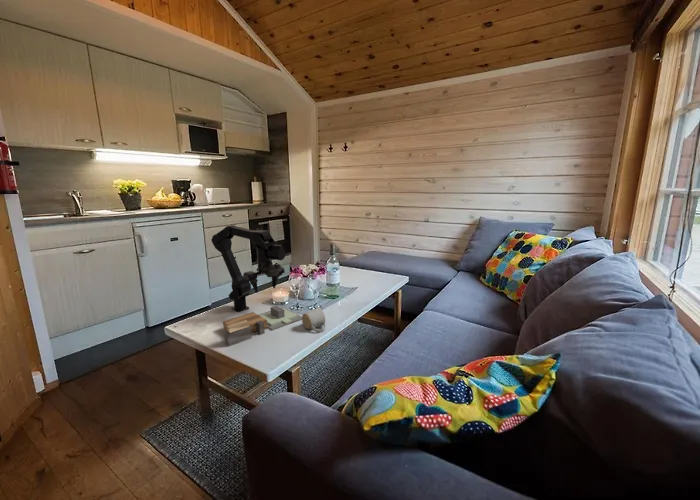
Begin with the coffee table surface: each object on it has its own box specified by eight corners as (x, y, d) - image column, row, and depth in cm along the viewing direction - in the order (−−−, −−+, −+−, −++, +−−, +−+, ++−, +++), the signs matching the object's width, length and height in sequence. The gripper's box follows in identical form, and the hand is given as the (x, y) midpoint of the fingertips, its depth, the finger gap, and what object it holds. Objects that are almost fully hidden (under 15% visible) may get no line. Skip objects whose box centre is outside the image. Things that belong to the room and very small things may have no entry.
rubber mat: (251, 318, 148) (251, 316, 148) (282, 308, 160) (282, 307, 160) (272, 330, 136) (272, 329, 136) (304, 318, 148) (304, 317, 148)
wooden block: (227, 331, 124) (226, 326, 124) (246, 324, 130) (245, 320, 129) (229, 333, 123) (229, 328, 122) (249, 326, 128) (248, 321, 128)
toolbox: (213, 333, 133) (212, 322, 132) (253, 320, 146) (253, 310, 145) (229, 346, 123) (228, 334, 122) (271, 330, 136) (270, 320, 135)
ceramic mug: (300, 326, 140) (300, 310, 138) (316, 321, 145) (316, 305, 143) (314, 335, 132) (314, 318, 130) (330, 329, 137) (330, 313, 135)
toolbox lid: (257, 317, 147) (256, 309, 146) (283, 309, 157) (283, 301, 156) (275, 328, 137) (274, 318, 136) (301, 318, 146) (301, 309, 146)
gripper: (253, 264, 135) (256, 299, 138) (290, 257, 148) (291, 289, 151) (241, 260, 143) (243, 293, 146) (277, 253, 156) (278, 284, 159)
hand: (265, 290), depth 150 cm, fingers open, 9 cm apart
